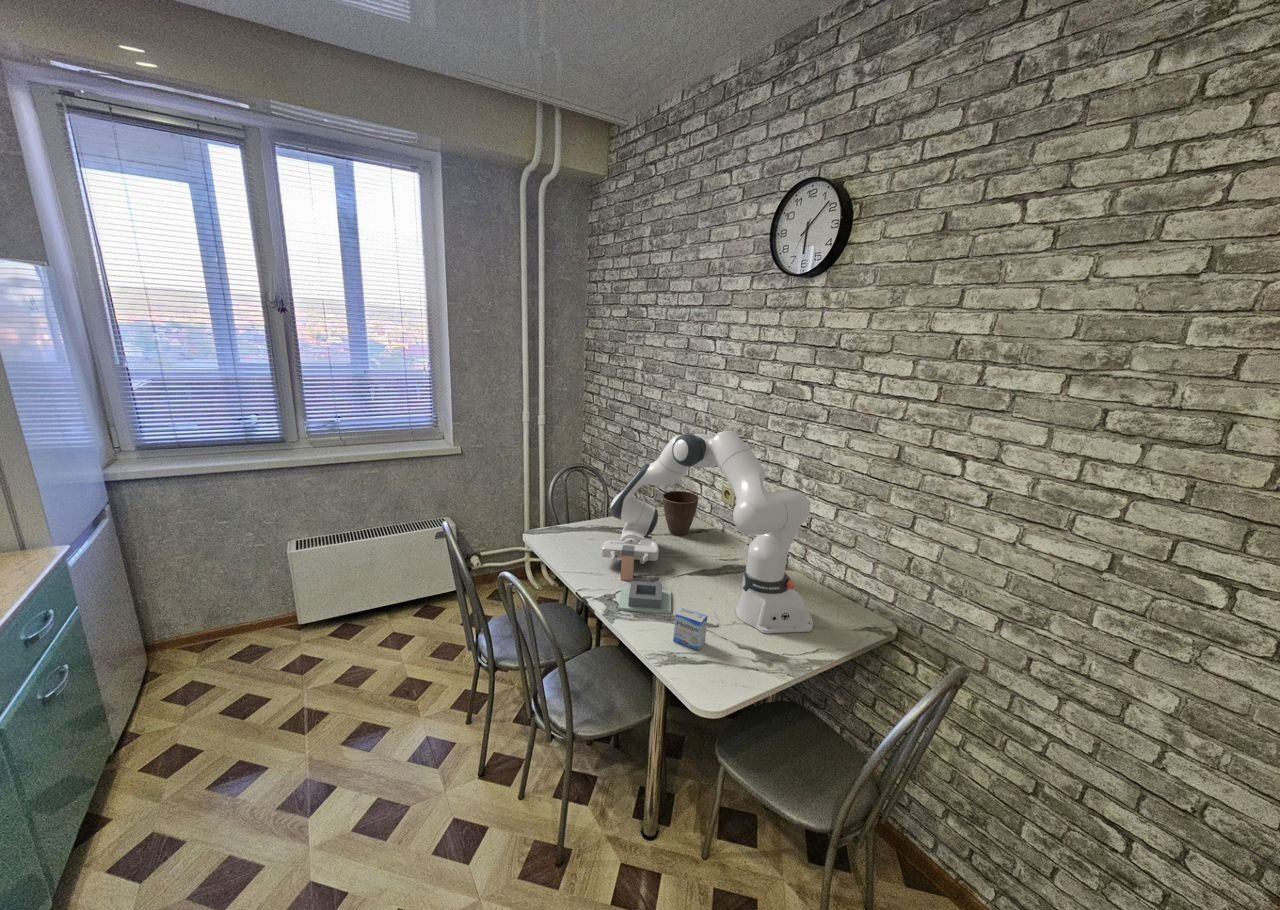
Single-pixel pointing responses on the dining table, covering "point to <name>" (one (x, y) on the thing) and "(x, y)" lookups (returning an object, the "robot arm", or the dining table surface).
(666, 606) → the board
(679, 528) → the plant pot
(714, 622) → the dining table surface
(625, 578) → the plug
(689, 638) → the medicine box
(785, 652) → the dining table surface
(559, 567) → the dining table surface
